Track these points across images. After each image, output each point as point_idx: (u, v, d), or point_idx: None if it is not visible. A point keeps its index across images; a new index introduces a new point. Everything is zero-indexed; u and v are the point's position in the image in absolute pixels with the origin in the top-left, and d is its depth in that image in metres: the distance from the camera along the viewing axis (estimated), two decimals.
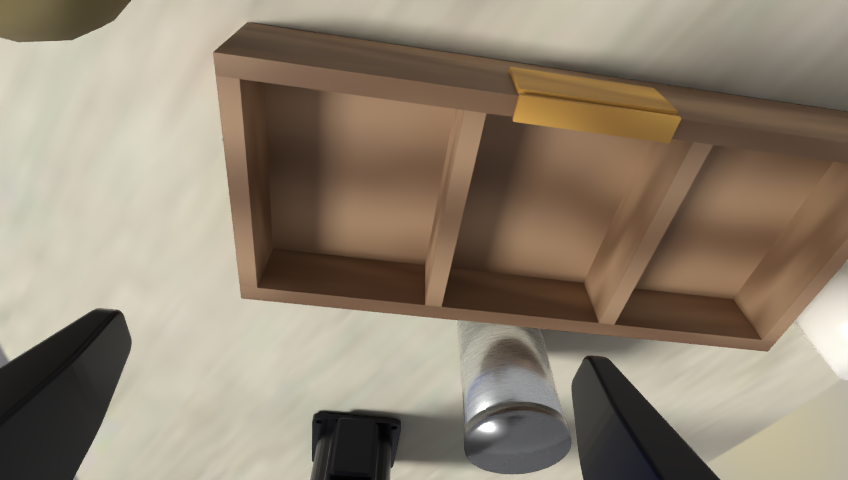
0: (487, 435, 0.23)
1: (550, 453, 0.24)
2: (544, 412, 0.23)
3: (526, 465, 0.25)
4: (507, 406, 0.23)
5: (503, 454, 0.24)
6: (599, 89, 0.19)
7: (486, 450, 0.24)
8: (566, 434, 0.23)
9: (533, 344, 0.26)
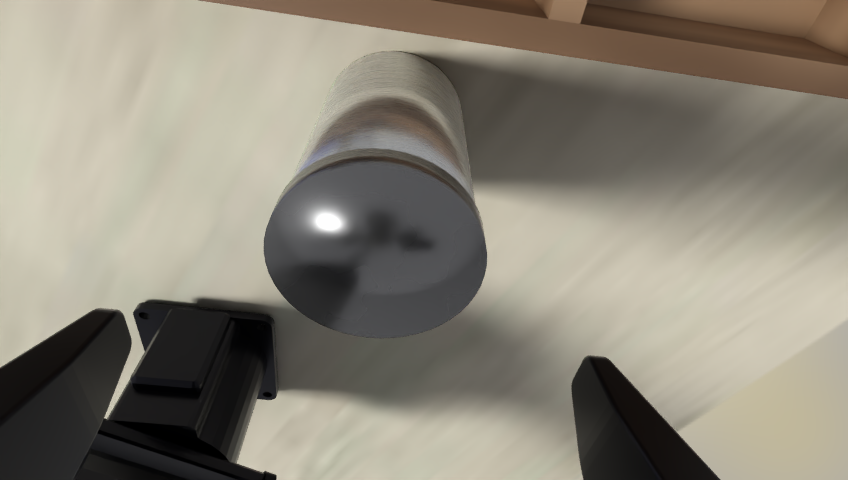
0: (303, 227, 0.11)
1: (447, 281, 0.12)
2: (420, 167, 0.10)
3: (405, 314, 0.13)
4: (341, 155, 0.10)
5: (352, 284, 0.12)
6: None
7: (314, 272, 0.12)
8: (472, 224, 0.11)
9: (432, 101, 0.14)
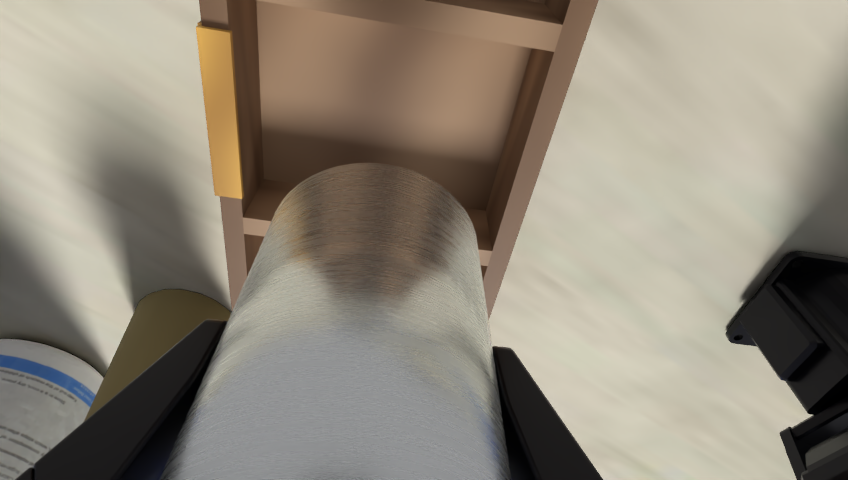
0: None
1: None
2: None
3: None
4: None
5: None
6: None
7: None
8: None
9: (432, 286, 0.08)
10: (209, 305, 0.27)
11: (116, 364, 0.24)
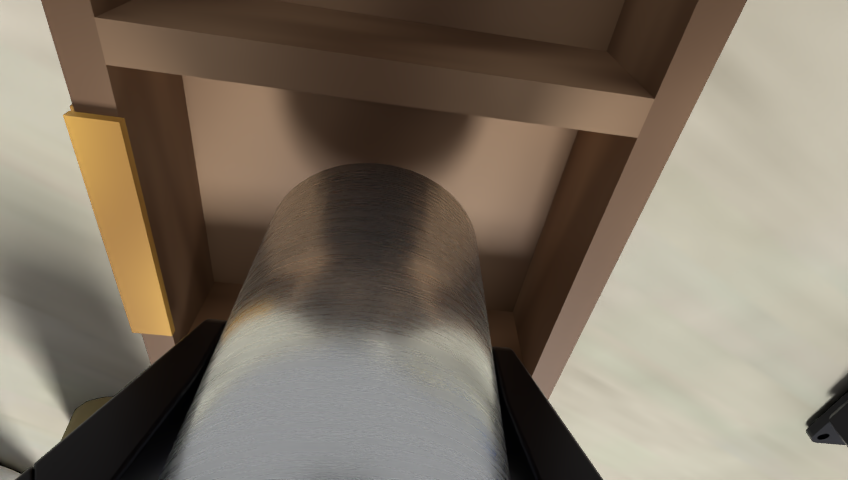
0: None
1: None
2: None
3: None
4: None
5: None
6: None
7: None
8: None
9: (432, 286, 0.08)
10: None
11: None
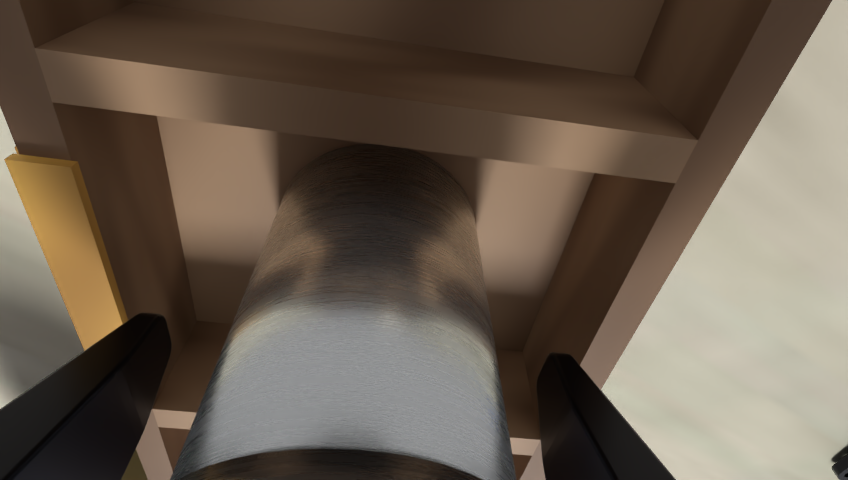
0: None
1: None
2: None
3: None
4: (255, 470, 0.05)
5: None
6: None
7: None
8: None
9: (435, 251, 0.09)
10: None
11: None
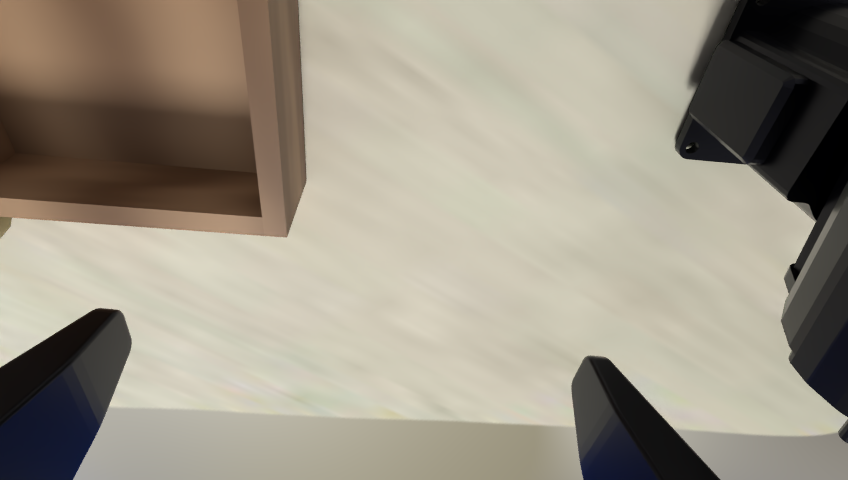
0: None
1: None
2: None
3: None
4: None
5: None
6: None
7: None
8: None
9: None
10: None
11: None
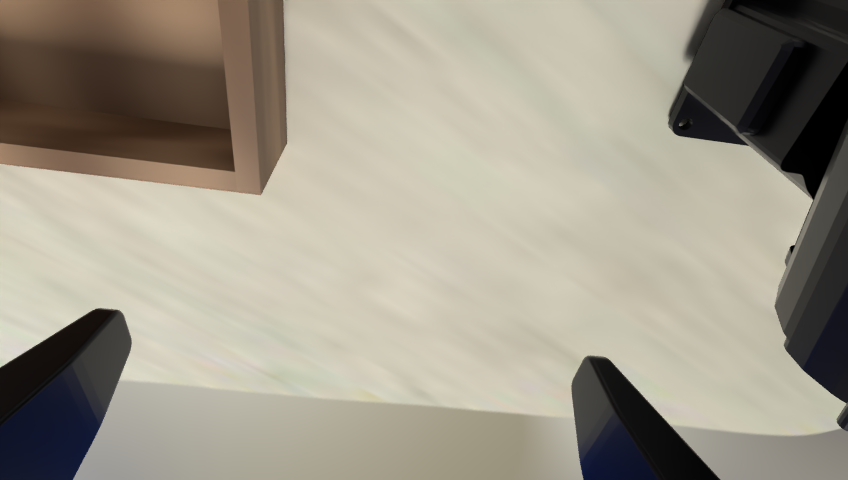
0: None
1: None
2: None
3: None
4: None
5: None
6: None
7: None
8: None
9: None
10: None
11: None
